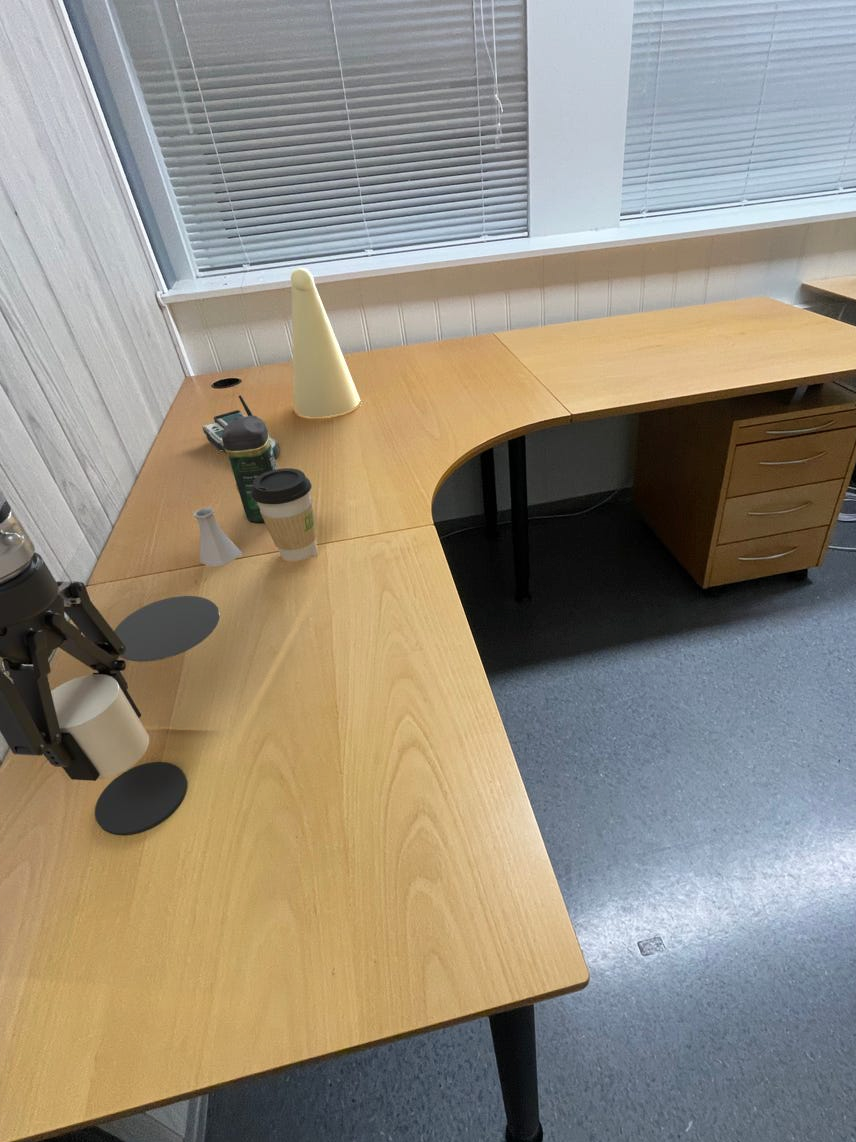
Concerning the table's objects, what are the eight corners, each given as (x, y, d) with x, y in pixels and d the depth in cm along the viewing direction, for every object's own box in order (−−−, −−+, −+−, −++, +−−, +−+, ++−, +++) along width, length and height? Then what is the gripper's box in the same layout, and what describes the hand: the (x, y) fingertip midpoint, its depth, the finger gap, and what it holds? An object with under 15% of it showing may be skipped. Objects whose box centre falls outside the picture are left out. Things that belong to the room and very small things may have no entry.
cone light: (293, 399, 176) (259, 256, 153) (357, 391, 179) (333, 249, 156) (294, 431, 158) (256, 274, 135) (366, 422, 160) (340, 266, 138)
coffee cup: (338, 549, 113) (321, 473, 103) (301, 577, 107) (279, 498, 97) (299, 537, 117) (278, 462, 108) (260, 563, 111) (235, 486, 101)
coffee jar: (285, 522, 122) (259, 429, 110) (244, 526, 121) (213, 433, 109) (290, 499, 129) (266, 410, 117) (252, 503, 129) (223, 414, 117)
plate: (92, 665, 92) (88, 659, 91) (147, 600, 104) (144, 594, 103) (194, 669, 90) (191, 662, 89) (238, 602, 102) (235, 596, 101)
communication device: (243, 473, 141) (231, 435, 135) (204, 442, 155) (192, 406, 149) (291, 456, 146) (282, 419, 140) (249, 428, 161) (239, 393, 155)
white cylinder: (58, 778, 65) (18, 726, 60) (99, 723, 71) (65, 672, 66) (126, 781, 64) (91, 730, 59) (162, 726, 70) (133, 675, 65)
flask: (226, 575, 109) (208, 524, 102) (192, 569, 110) (172, 519, 104) (250, 553, 114) (234, 504, 107) (217, 548, 116) (199, 499, 109)
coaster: (78, 832, 70) (76, 830, 69) (125, 762, 77) (124, 759, 77) (161, 838, 69) (160, 835, 68) (201, 766, 76) (200, 763, 76)
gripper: (-64, 650, 44) (85, 831, 59) (99, 509, 59) (184, 680, 74) (-157, 647, 45) (12, 826, 60) (27, 508, 60) (126, 678, 75)
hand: (108, 745), depth 67 cm, fingers closed on white cylinder, 8 cm apart
